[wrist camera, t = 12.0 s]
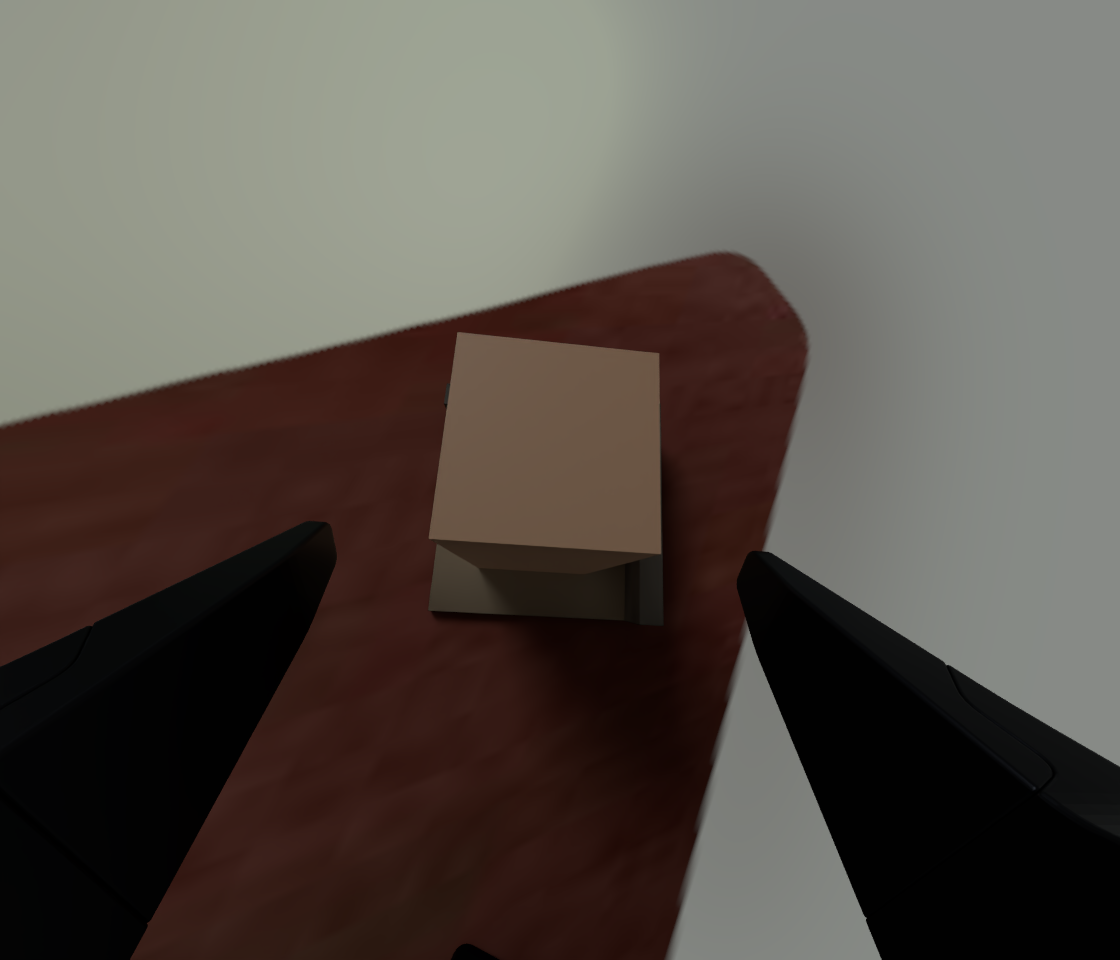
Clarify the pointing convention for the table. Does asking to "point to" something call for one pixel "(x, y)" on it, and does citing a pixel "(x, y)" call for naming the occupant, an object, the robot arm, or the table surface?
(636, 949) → the table surface
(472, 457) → the tan block
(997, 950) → the robot arm
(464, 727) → the table surface
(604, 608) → the grey shallow square piece
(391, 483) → the table surface
